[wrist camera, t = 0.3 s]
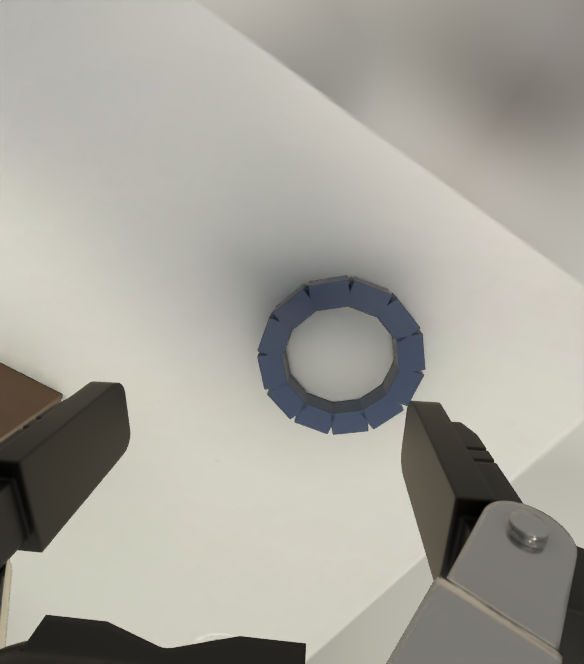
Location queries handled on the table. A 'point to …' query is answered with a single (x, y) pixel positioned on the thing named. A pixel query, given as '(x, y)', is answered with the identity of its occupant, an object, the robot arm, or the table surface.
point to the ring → (353, 412)
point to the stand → (21, 400)
